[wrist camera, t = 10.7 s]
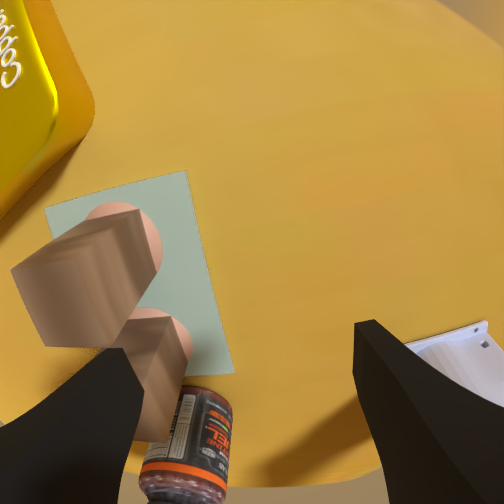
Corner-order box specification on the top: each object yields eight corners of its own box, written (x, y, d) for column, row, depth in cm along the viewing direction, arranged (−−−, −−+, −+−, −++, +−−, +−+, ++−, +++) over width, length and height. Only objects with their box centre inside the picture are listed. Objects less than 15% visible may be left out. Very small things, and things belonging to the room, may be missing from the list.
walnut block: (139, 208, 16) (74, 258, 10) (156, 273, 18) (110, 347, 11) (83, 221, 16) (10, 270, 10) (102, 280, 18) (45, 346, 11)
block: (171, 315, 19) (137, 396, 12) (188, 362, 20) (167, 443, 14) (118, 320, 19) (73, 392, 13) (138, 363, 21) (107, 436, 14)
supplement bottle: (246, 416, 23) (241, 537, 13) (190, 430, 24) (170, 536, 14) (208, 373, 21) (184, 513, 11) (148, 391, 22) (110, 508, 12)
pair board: (186, 170, 16) (183, 171, 15) (234, 369, 21) (234, 374, 21) (47, 207, 17) (43, 209, 16) (115, 373, 22) (113, 377, 21)
